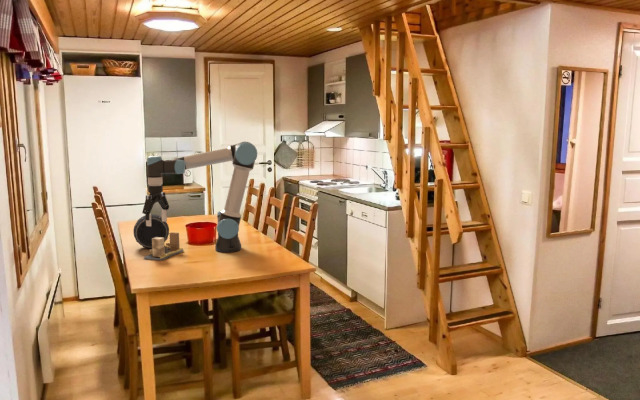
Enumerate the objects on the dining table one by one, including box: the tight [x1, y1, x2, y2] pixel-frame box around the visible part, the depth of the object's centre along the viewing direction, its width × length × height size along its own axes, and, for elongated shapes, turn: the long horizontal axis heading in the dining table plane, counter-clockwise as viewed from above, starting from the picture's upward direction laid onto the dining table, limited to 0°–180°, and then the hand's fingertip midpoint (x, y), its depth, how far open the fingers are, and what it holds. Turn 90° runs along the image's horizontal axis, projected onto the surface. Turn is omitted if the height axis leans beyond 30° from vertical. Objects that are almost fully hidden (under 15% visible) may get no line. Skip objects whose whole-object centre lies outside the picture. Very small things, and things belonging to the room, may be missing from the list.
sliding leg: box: [148, 237, 166, 257], centre depth 277 cm, size 8×4×10 cm, turn 72°
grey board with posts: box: [143, 231, 184, 262], centre depth 284 cm, size 11×21×11 cm, turn 162°
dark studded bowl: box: [133, 213, 170, 249], centre depth 300 cm, size 11×20×20 cm, turn 110°
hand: (156, 223), depth 274 cm, fingers open, 13 cm apart
